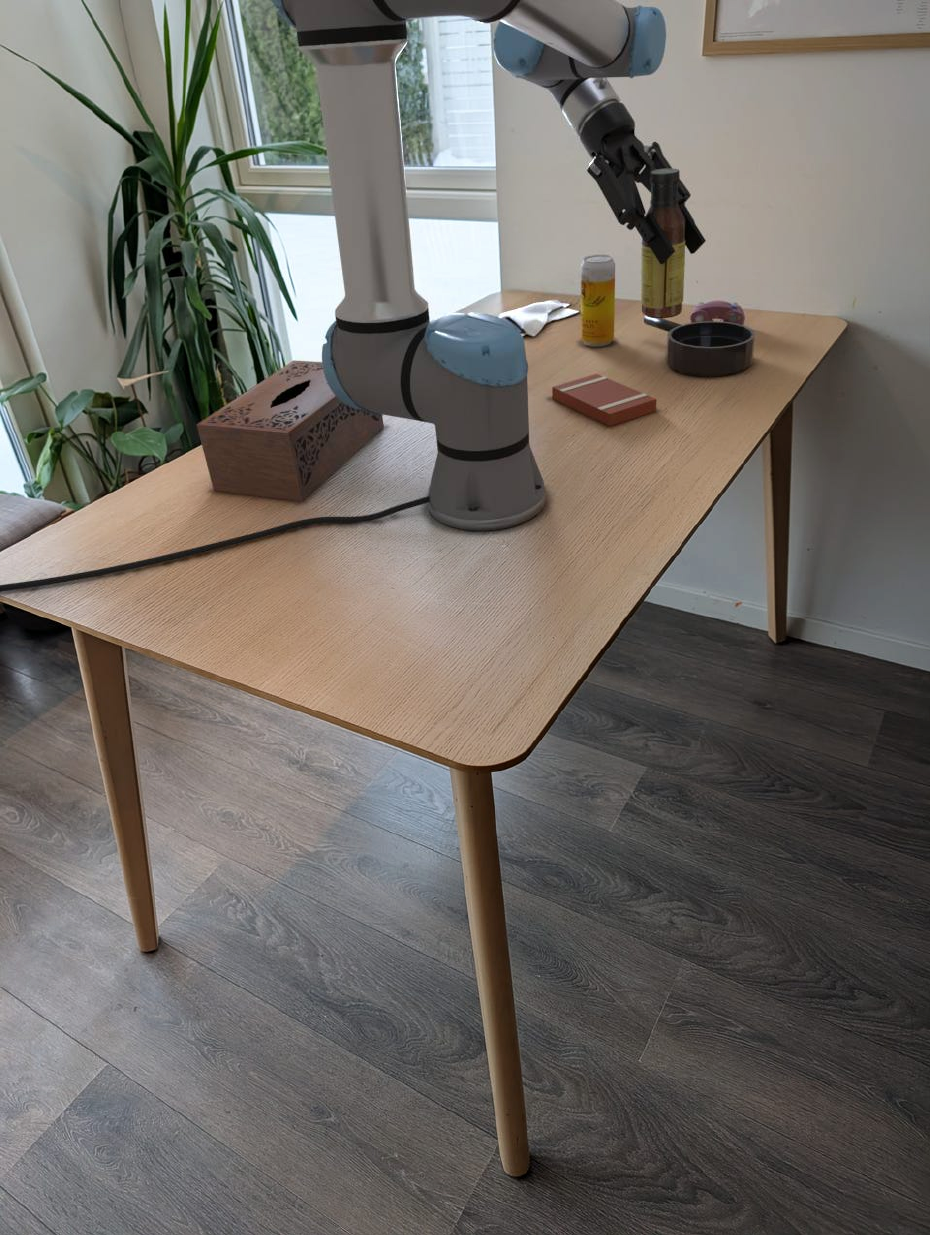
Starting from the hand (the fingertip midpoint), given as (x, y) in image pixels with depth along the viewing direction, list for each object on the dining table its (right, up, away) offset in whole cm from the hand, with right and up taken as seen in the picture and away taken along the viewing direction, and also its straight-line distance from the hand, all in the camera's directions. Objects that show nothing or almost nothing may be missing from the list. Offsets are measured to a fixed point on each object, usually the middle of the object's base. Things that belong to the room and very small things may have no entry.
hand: (683, 252), depth 128 cm
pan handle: (+4, -1, +32) cm, 32 cm away
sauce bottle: (-2, -6, +8) cm, 10 cm away
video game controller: (+16, +1, +39) cm, 42 cm away
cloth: (-18, +8, +53) cm, 56 cm away
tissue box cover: (-56, -29, +6) cm, 63 cm away
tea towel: (-9, -19, +13) cm, 25 cm away
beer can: (-7, -1, +39) cm, 39 cm away
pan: (+11, -9, +25) cm, 29 cm away
